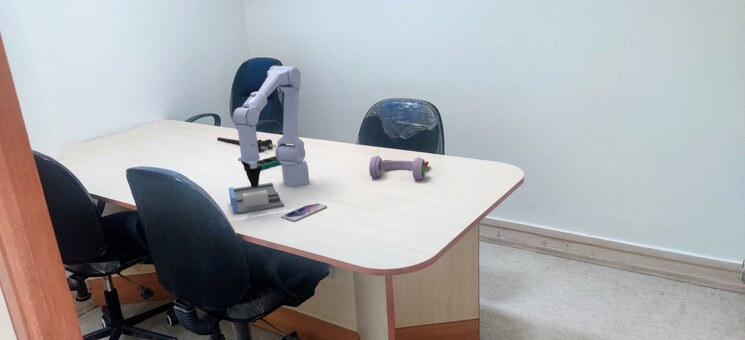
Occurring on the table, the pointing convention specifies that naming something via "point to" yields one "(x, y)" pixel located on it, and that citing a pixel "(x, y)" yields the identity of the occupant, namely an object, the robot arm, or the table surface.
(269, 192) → the board
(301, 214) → the smartphone
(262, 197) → the light grey long block
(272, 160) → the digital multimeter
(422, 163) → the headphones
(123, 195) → the table surface
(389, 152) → the table surface
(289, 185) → the robot arm
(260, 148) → the electrical plug
